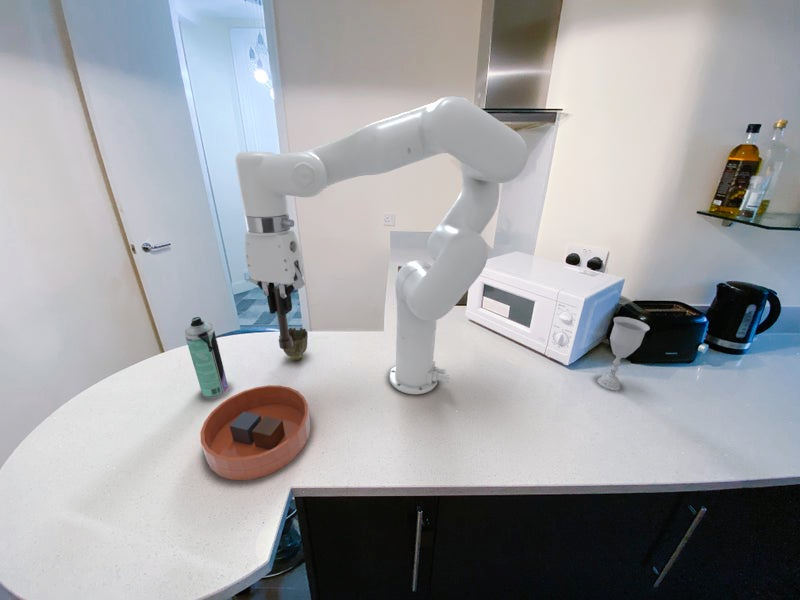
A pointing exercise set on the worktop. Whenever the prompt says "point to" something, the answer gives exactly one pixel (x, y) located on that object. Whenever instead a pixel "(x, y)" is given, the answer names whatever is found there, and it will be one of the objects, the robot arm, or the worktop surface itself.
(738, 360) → the worktop surface
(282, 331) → the muddler
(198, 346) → the spray can
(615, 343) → the chalice
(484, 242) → the robot arm
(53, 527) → the worktop surface
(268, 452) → the bowl
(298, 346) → the cup
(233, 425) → the slate block
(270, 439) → the walnut block
